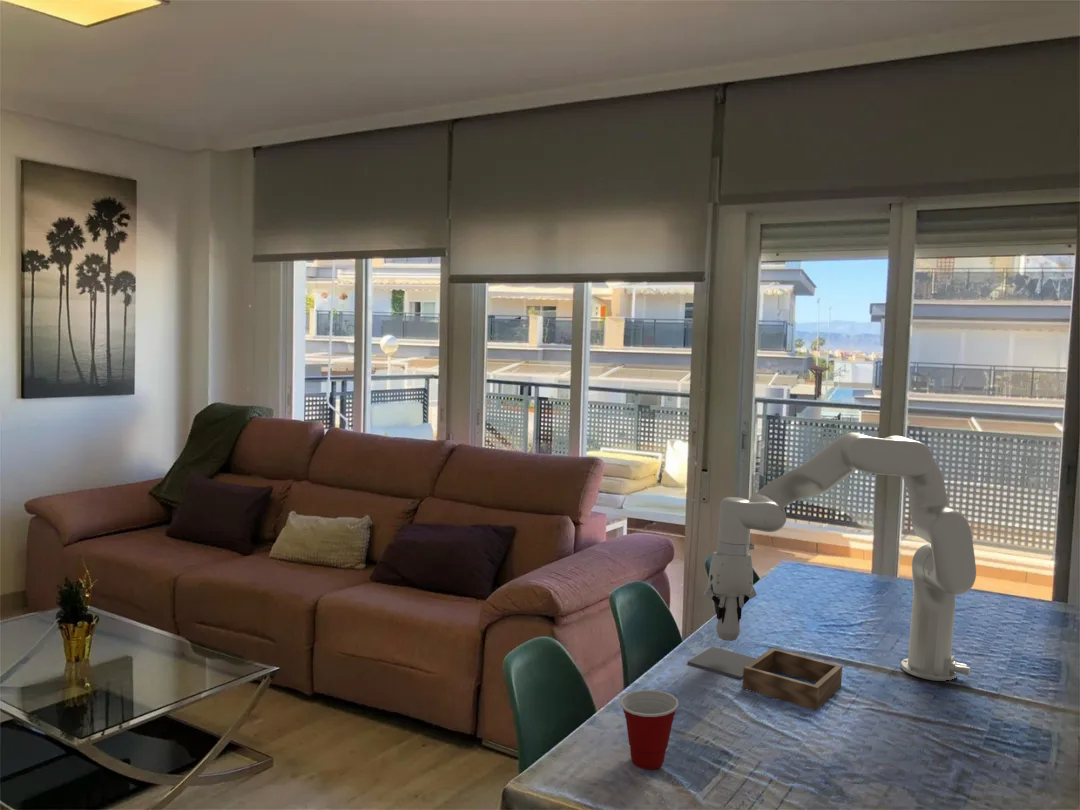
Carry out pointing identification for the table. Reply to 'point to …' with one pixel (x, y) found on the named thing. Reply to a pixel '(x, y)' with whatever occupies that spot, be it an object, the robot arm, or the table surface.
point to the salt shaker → (729, 620)
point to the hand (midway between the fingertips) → (728, 621)
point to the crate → (790, 689)
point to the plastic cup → (648, 725)
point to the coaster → (722, 661)
